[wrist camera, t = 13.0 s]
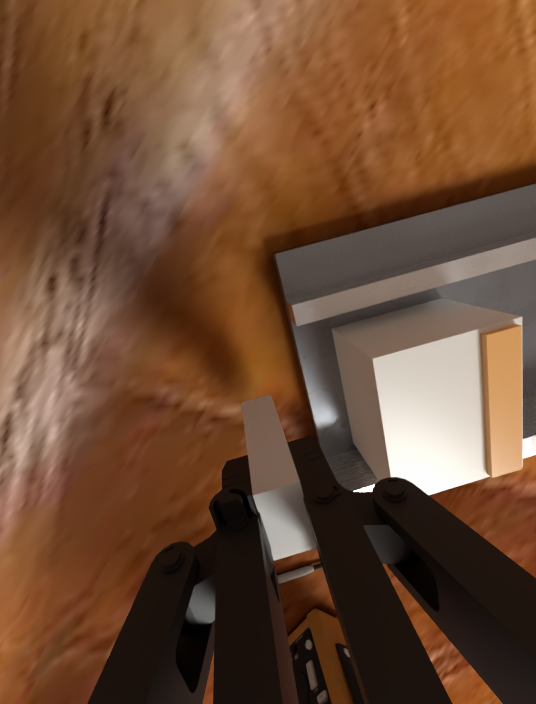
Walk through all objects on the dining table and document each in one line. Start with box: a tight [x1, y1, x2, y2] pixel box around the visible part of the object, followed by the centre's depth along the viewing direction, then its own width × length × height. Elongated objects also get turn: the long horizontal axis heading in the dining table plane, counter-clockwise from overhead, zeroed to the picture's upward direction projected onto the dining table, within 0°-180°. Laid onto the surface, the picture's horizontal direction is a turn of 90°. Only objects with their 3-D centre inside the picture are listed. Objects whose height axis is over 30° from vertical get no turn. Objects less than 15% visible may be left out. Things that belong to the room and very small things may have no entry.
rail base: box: [272, 183, 536, 492], centre depth 18 cm, size 15×22×4 cm
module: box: [332, 298, 523, 495], centre depth 16 cm, size 7×6×5 cm
